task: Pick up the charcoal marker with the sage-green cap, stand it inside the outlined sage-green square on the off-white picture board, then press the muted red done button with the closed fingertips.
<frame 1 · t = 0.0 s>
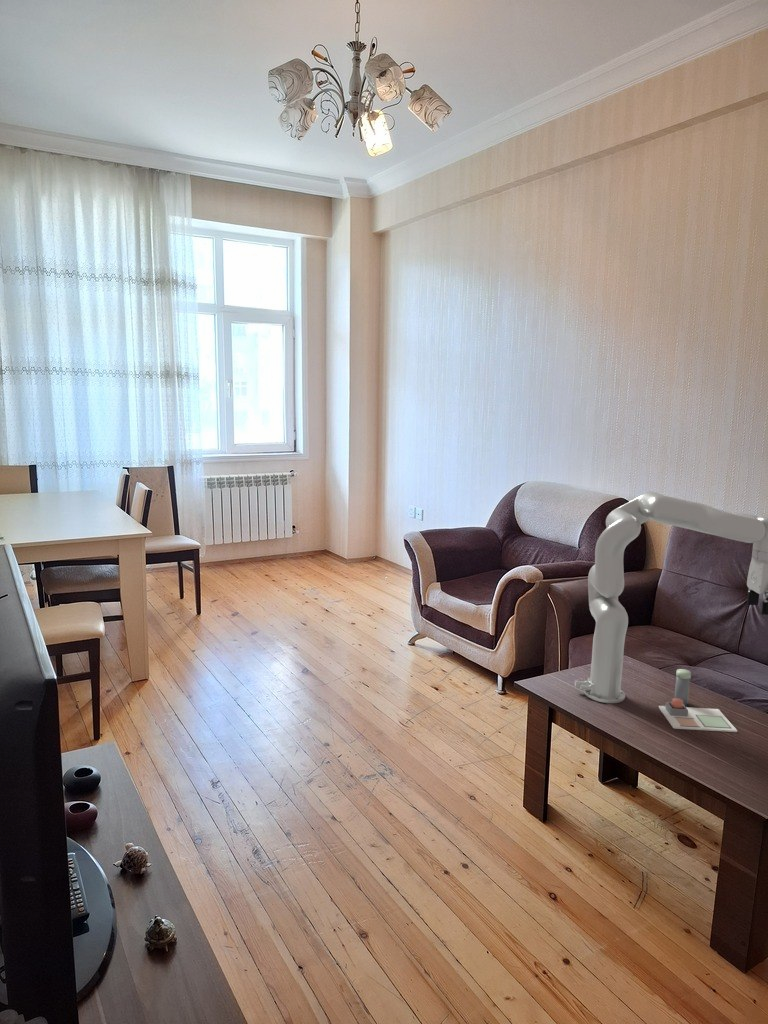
hand: (759, 609, 212), 31 cm above the table, tool pointing down, fingers open, 9 cm apart
done button: (677, 703, 208), point 3 cm above the table, slide at 0.0 cm
marker: (680, 703, 216), on the table
picture board: (696, 719, 206), on the table
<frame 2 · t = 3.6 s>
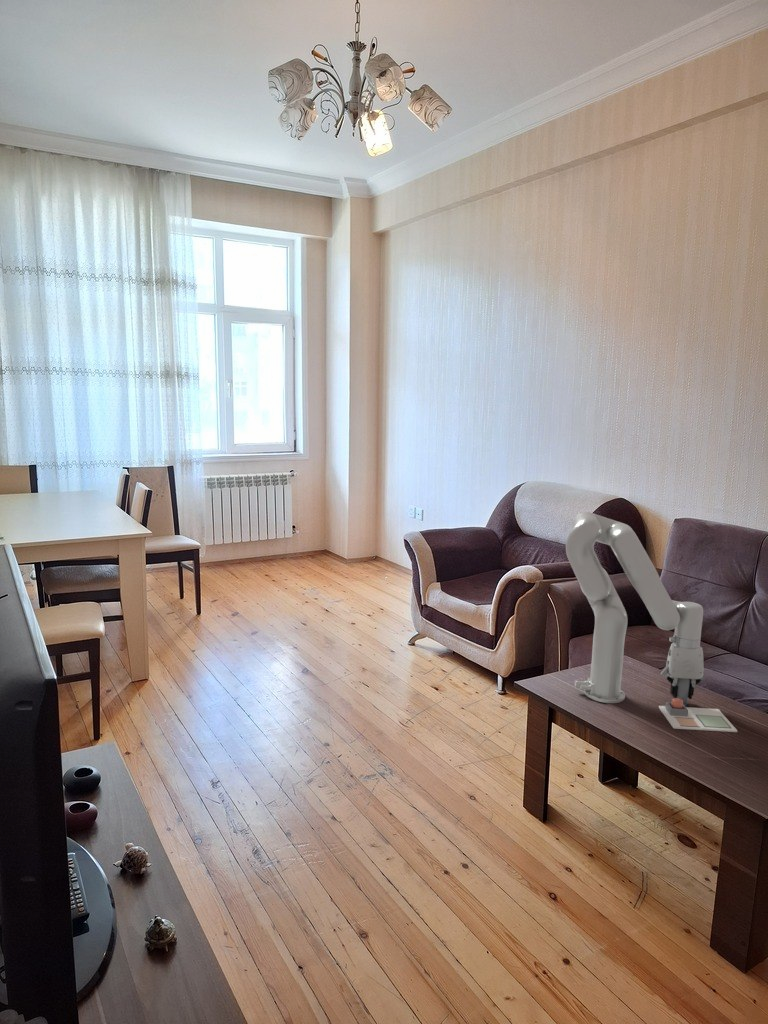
hand: (681, 696, 216), 2 cm above the table, tool pointing down, fingers closed on marker, 3 cm apart
marker: (680, 703, 216), on the table, touching gripper
everything else where it was.
when the fingers open (4 cm above the table, at t = 9.5 s): marker stays where it is, resting on picture board.
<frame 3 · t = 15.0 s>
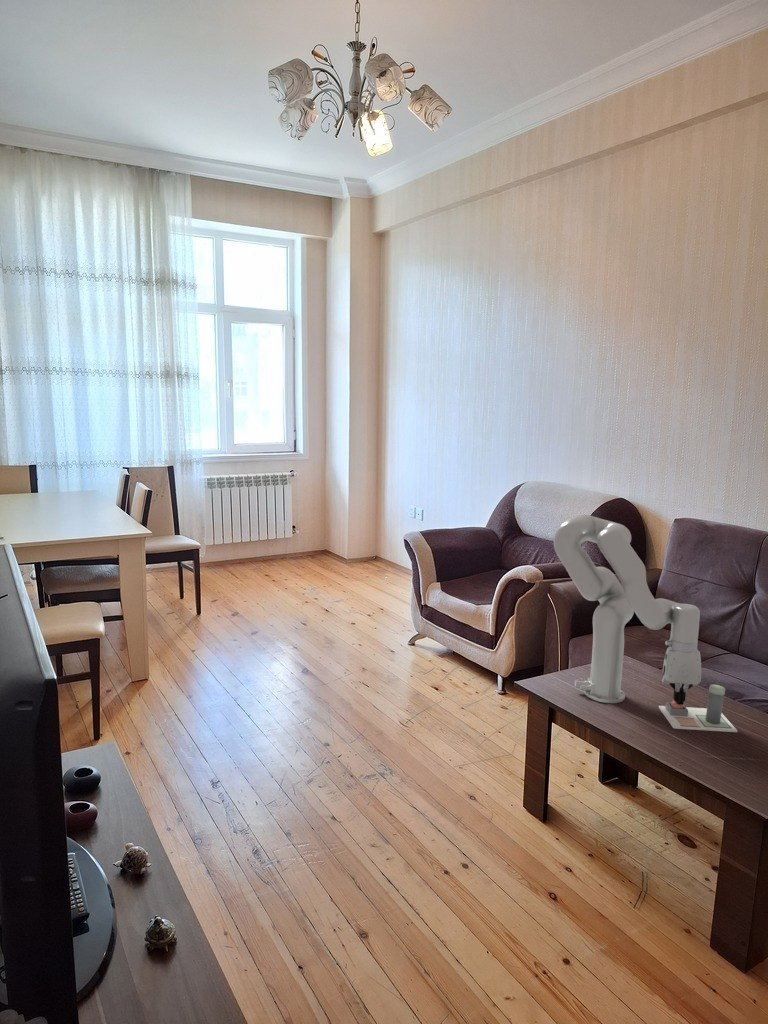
hand: (678, 702, 208), 4 cm above the table, tool pointing down, fingers closed
done button: (676, 706, 208), point 2 cm above the table, slide at 0.7 cm, touching gripper
marker: (712, 721, 203), point 1 cm above the table, touching picture board
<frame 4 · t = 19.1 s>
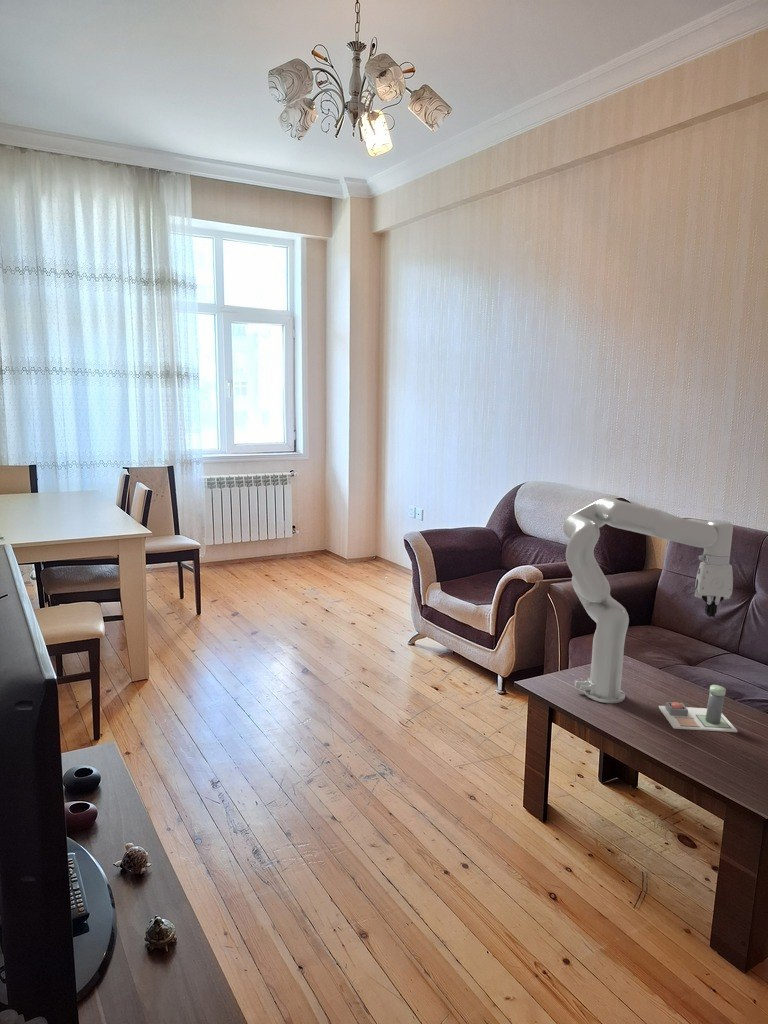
hand: (710, 615, 218), 27 cm above the table, tool pointing down, fingers closed
done button: (676, 708, 209), point 2 cm above the table, slide at 1.3 cm
everything else where it was.
at the end: marker 0.1 cm from the target spot, point 0.7 cm above the table; marker tilted 2°; done button slide at 1.3 cm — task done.
